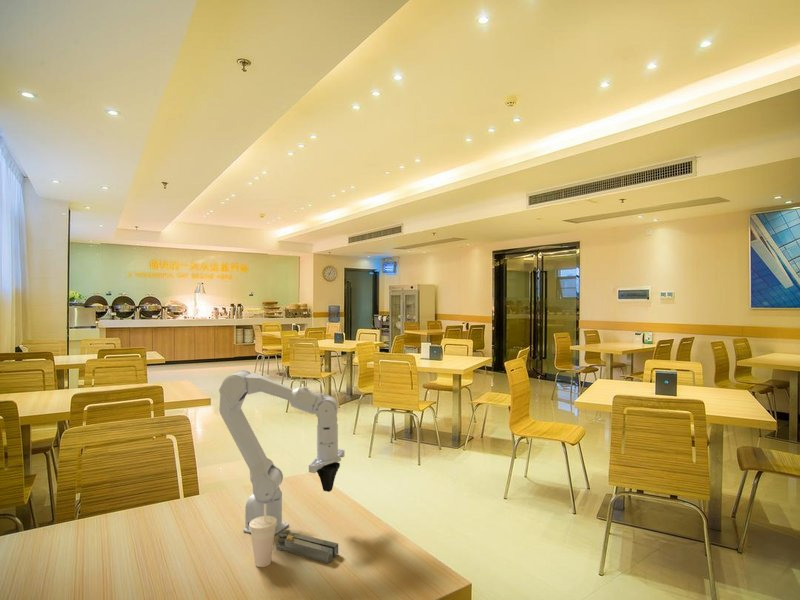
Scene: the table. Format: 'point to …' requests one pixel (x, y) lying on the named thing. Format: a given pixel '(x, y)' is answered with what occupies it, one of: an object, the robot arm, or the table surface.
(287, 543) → the tongs base
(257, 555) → the smoothie
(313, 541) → the bar
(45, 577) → the table surface
